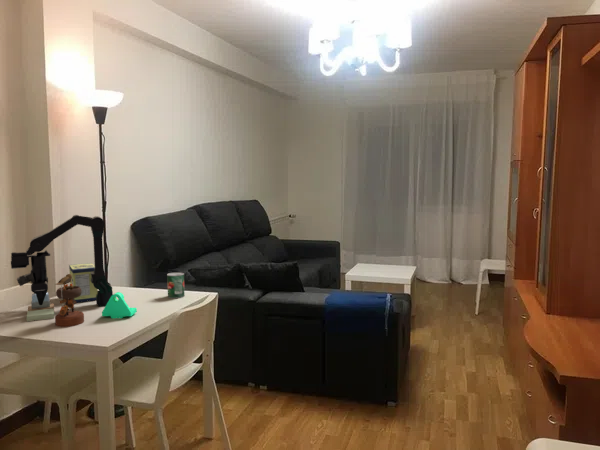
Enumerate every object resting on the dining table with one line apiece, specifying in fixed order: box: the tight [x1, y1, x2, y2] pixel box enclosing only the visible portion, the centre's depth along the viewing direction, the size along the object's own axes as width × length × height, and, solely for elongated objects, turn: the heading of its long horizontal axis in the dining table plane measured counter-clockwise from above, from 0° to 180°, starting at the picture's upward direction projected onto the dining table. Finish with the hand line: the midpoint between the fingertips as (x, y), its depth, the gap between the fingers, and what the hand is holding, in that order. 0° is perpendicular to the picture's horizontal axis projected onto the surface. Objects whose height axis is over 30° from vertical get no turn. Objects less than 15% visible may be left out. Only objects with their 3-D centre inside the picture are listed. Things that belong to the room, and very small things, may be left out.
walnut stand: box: [27, 303, 55, 311], centre depth 225 cm, size 10×7×2 cm
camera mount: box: [101, 291, 138, 319], centre depth 217 cm, size 12×8×10 cm, turn 88°
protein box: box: [68, 262, 99, 304], centre depth 247 cm, size 10×16×16 cm
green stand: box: [26, 307, 55, 322], centre depth 216 cm, size 10×9×2 cm
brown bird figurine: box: [54, 273, 85, 328], centre depth 208 cm, size 15×11×20 cm
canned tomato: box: [166, 271, 186, 299], centre depth 250 cm, size 8×8×11 cm
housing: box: [30, 291, 51, 309], centre depth 225 cm, size 7×5×6 cm
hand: (41, 302), depth 225 cm, fingers open, 9 cm apart
